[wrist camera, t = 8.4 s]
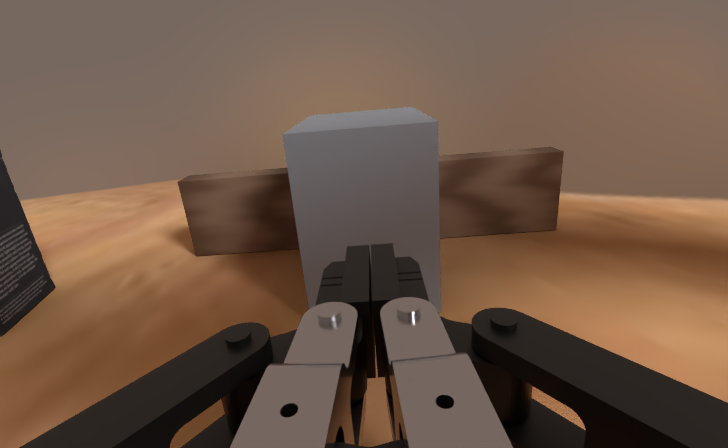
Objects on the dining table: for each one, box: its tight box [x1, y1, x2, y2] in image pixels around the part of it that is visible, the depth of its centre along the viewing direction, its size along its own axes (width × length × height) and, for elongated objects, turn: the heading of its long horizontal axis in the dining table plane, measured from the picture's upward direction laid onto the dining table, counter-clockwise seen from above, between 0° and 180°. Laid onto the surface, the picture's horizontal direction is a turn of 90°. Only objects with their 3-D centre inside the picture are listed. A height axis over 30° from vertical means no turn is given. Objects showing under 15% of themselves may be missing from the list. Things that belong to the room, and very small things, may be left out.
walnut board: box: [178, 147, 564, 256], centre depth 30 cm, size 28×2×6 cm, turn 90°
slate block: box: [282, 107, 441, 313], centre depth 24 cm, size 7×10×10 cm
